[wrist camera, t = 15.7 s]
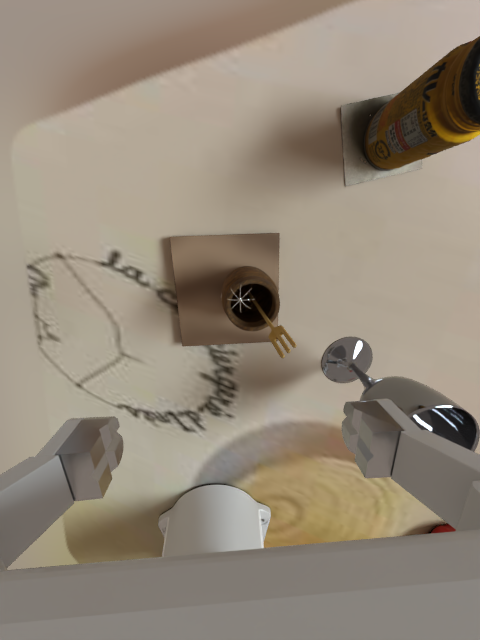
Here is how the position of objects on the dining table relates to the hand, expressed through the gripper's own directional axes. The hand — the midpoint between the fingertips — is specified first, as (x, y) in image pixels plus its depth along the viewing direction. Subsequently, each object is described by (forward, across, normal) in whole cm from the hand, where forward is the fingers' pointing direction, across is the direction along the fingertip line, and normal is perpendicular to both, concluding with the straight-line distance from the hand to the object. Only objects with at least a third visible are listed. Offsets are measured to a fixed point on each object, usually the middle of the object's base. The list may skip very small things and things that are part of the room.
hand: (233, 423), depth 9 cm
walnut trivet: (+23, 0, 0) cm, 23 cm away
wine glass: (+23, +16, -10) cm, 30 cm away
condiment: (+23, +17, +16) cm, 33 cm away
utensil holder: (+22, +2, 0) cm, 22 cm away
